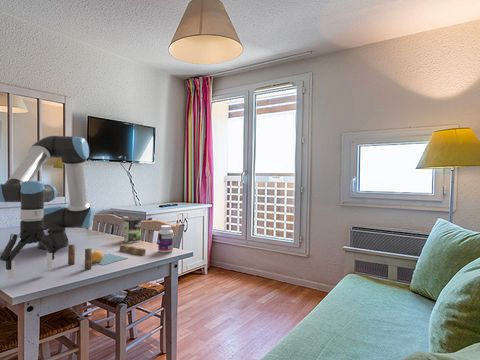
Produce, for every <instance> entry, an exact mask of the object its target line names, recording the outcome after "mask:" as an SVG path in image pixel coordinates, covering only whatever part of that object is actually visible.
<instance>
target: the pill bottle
mask: <svg viewBox="0 0 480 360" xmlns="http://www.w3.org/2000/svg"><path fill="white" fill-rule="evenodd" d="M157 241H158V245H157V247H158V248H157V249H158V250H157V251H158V252H159V253H163V254H164V253H165V254H166V253H167V254H169V253H172V252H173V250H174V231H173V229H172V225H168V224H166V225H163V224H162V225H161V226H160V230H158V240H157Z"/></svg>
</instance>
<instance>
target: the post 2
mask: <svg viewBox="0 0 480 360" xmlns="http://www.w3.org/2000/svg"><path fill="white" fill-rule="evenodd" d="M92 249H93V248H89V247H88V248H85V249H84V271H89V270H90V271H91V269H92V262H91V257H92V253H93V250H92Z"/></svg>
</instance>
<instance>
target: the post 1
mask: <svg viewBox="0 0 480 360" xmlns="http://www.w3.org/2000/svg"><path fill="white" fill-rule="evenodd" d="M67 247H68V250H67V251H68V252H67V257H68V258H67V265H68V266H72V265H75V258H76V257H75V256H76V254H75V253H76V251H75V250H76V244H69V245H68V246H67Z"/></svg>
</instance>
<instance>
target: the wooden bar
mask: <svg viewBox="0 0 480 360" xmlns="http://www.w3.org/2000/svg"><path fill="white" fill-rule="evenodd" d="M119 251H120V252H124V253H125V252H126V253H130V254H134V255H138V256H145V255H146V251H147V250H146V248H141V247H138V246H137V247H136V246H132V245H127V244H119Z"/></svg>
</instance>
